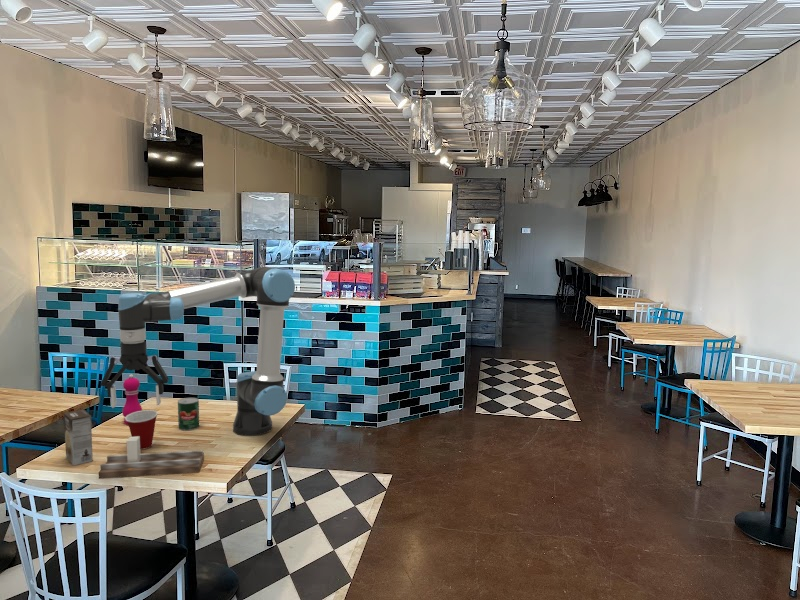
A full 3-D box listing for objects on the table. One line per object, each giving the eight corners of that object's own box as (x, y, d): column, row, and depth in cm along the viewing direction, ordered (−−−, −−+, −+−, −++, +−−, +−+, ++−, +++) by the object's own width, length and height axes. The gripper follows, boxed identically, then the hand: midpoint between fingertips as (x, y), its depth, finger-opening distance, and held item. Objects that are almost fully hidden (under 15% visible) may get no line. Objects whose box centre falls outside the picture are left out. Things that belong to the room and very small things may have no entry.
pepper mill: (135, 426, 228) (133, 377, 225) (119, 424, 229) (117, 375, 226) (146, 420, 235) (144, 372, 232) (130, 418, 236) (128, 371, 234)
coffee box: (65, 458, 195) (62, 412, 193) (85, 453, 200) (83, 408, 198) (72, 466, 189) (70, 419, 187) (94, 461, 193) (91, 415, 191)
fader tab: (140, 459, 189) (139, 436, 189) (137, 464, 186) (136, 440, 185) (130, 460, 189) (129, 436, 188) (127, 464, 185) (126, 441, 184)
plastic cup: (119, 448, 204) (117, 416, 203) (145, 439, 214) (144, 408, 212) (139, 454, 199) (138, 421, 198) (165, 444, 209) (164, 413, 207)
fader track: (203, 458, 197) (203, 448, 197) (198, 472, 186) (198, 462, 185) (110, 463, 192) (109, 453, 191) (98, 478, 180) (98, 467, 179)
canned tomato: (194, 422, 233) (193, 396, 232) (203, 427, 228) (202, 400, 226) (174, 426, 228) (174, 400, 226) (183, 432, 222) (182, 404, 221)
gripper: (87, 345, 178) (91, 411, 181) (172, 342, 184) (175, 406, 186) (94, 340, 186) (98, 403, 188) (176, 337, 191) (178, 399, 193)
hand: (136, 405), depth 187 cm, fingers open, 13 cm apart
